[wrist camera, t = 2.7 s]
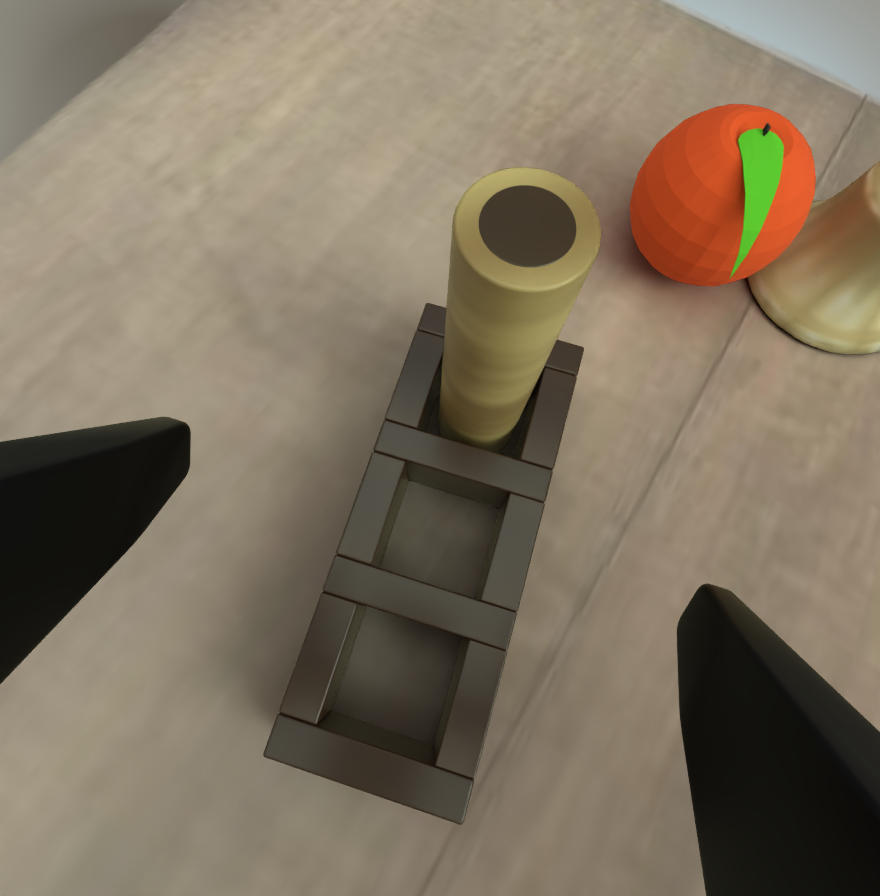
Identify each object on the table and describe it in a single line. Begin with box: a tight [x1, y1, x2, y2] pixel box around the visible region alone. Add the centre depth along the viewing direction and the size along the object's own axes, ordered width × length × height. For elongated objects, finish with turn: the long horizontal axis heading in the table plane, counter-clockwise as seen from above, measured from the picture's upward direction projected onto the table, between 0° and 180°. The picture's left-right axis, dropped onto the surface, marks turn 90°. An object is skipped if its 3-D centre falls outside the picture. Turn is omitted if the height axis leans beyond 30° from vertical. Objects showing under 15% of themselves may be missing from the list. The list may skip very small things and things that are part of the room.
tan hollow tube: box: [438, 167, 601, 453], centre depth 18 cm, size 3×3×12 cm
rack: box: [263, 303, 584, 825], centre depth 21 cm, size 17×6×3 cm, turn 163°
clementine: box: [630, 104, 816, 286], centre depth 23 cm, size 8×7×7 cm
